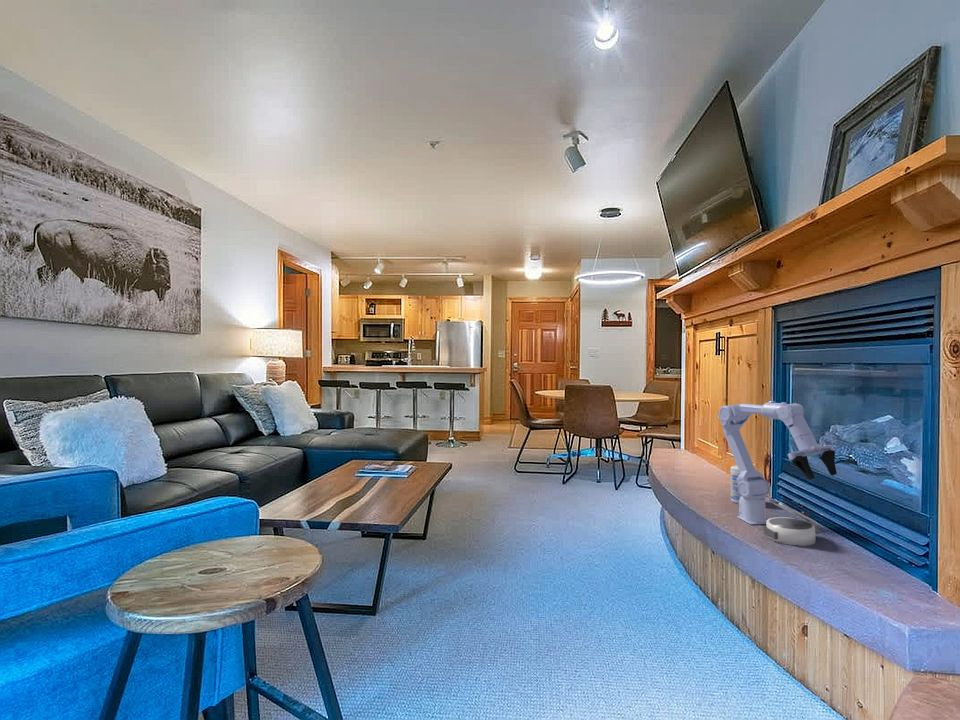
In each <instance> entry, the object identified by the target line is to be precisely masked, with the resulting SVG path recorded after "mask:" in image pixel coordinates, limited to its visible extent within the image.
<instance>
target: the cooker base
mask: <svg viewBox="0 0 960 720" xmlns="http://www.w3.org/2000/svg"><path fill="white" fill-rule="evenodd" d="M765 525H766V526H763V534H764V535H766V537H767V538H768V539H769V538H770V539H769V540H771V539H772V540H771V541H773V540H774V541H773V542H775V541H776V542H775V543H778V542H779V543H778V544H783V545H787V544H789V545H788V546H795V545H798V546H799V547H806V546H812V545H815V544H816V541H817V539H816V535H820V533H821V532H820V531H821V530H820V525H819V524H818V523H816V524H813V523H811V522H809V521H806V520H804V519H801V518H793V517H784V516H783V517H782V516H781V517H780V516H778V517H770V518H766V524H765Z"/></svg>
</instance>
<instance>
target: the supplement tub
mask: <svg viewBox="0 0 960 720" xmlns="http://www.w3.org/2000/svg"><path fill="white" fill-rule="evenodd" d="M739 475H740V472H739V469H738V467H737V465H732V466H731V467H730V500H731V502H733V503H735V504H738V505H739V499H740V497H741V496H742V495H741V494H740V493H739V490H738V483H737V480H736V479H737V478H738V476H739Z"/></svg>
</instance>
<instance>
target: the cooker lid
mask: <svg viewBox="0 0 960 720" xmlns="http://www.w3.org/2000/svg"><path fill="white" fill-rule="evenodd" d="M769 502H770V503H771V504H773V505H775V506H777V507H779V508H780V509H783V510H784V511H786V512H787V513H790V514H792V515H794V516H796V517H798V518H799V519H801V520H804V521H809V522H811V523H813V524H817V521H816V520H814V518H813V519H812V518H811V517H809V515H810V513H808V512H807V511H805V510H802V511H801V512H799V511H797V510H796V509H793V508H791V507H789V506H787V505H785V504H783V503H780V502H779V501H777V500H774V499H773V498H770V499H769Z"/></svg>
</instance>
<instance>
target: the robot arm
mask: <svg viewBox="0 0 960 720" xmlns="http://www.w3.org/2000/svg"><path fill="white" fill-rule="evenodd" d="M805 413H806V410H805V408H804V407H803V406H802V404H799V403H797V402H794V403H788V404H787V402H786V401H785V402H784V401H783V402H781V403H779V402H776V401H775V400H769V401H768V402H765V403H764V404H761V405H760V404H753V403H737V404H731V405H730V404H729V405H722V406H721V407H720V408H719V411H718V415H717V417H718V419H719V422H720V425H721V426H722V431H723V435H724V436H725V438H726V441H727V444H728V447H729V449H730V452H731V454H732V456H733V457H732V458H733V459H734V462H735V465H736V466H737V467H738V469H739V472H740V475H739V476H738V478H737V479H736V480H737V483H738V490H739V493H740V494H741V495H742V496H741V497H740V499H739V504H738V514H739V515H737V516H736V517H737V518H738V519H740V520H742V521H743V522H745V523H747V524H748V525H767V524H766V520H767V513H766V511H767V510H766V509H767V508H766V498H767V495H768V494H769V493H770V491H771V486H770V483H769V482H768V481H767V480H766V479H765V476H764V474H763V473H762V472H760V471H758V470H756V467H755V464H753V461H752V460H753V459H752V458H751V455H750V454H749V451H748V448H747V446H746V444H745V441H744V438H743V436H742V435H741V432H740V430H741V428H742V427H743V426H744V424H745V423H746V422H747V421H748V420H749V418H750V416H752V415H762V416H763V417H764V418H766V419H772V420H780V421H781V422H783V423H784V425H785V426H786V427H787V430H788V431H789V433H790V434H791V436H792V438H793V440H794V443H795V445H796V447H797V449H798V450H797V451H792V452H789V453H788V454H786V455H787V457H788V458H789V459H788V460H789V461H791V463H792V464H793V465H794V466H795V467H796V468H798V469H799V470H800V471H801V472H802V473H803V474H804V475H805V476H806V477H807V479H808V480H809V481H811V480H812V479H815V474H814V472H813V470H812V468H811V466H810V463H809V459H808V457H811V456H816V455H820V456H819V459H820V460H821V462H822V463H823V465H824V466H825V468H826V469H827V471H828V473H829V474H830V475H831V476H835V475H837V474H838V473H837V468H836V462H835V458H836V452H835V451H836V450H835V448H834V447H833V445H832V444H829V445H818V442H817V440H816V438H815V436H814V434H813V432H812V431H811V428H810V427H809V425H808V423H807V421H806V418H805Z"/></svg>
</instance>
